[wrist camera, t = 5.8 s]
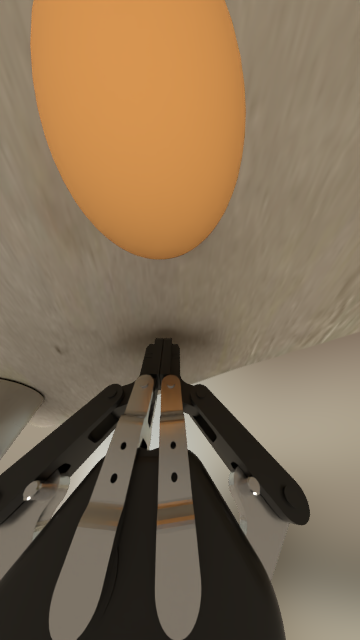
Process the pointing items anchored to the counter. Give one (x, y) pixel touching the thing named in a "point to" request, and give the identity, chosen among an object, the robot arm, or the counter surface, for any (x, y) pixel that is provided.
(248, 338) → the counter surface
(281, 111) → the counter surface
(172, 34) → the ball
